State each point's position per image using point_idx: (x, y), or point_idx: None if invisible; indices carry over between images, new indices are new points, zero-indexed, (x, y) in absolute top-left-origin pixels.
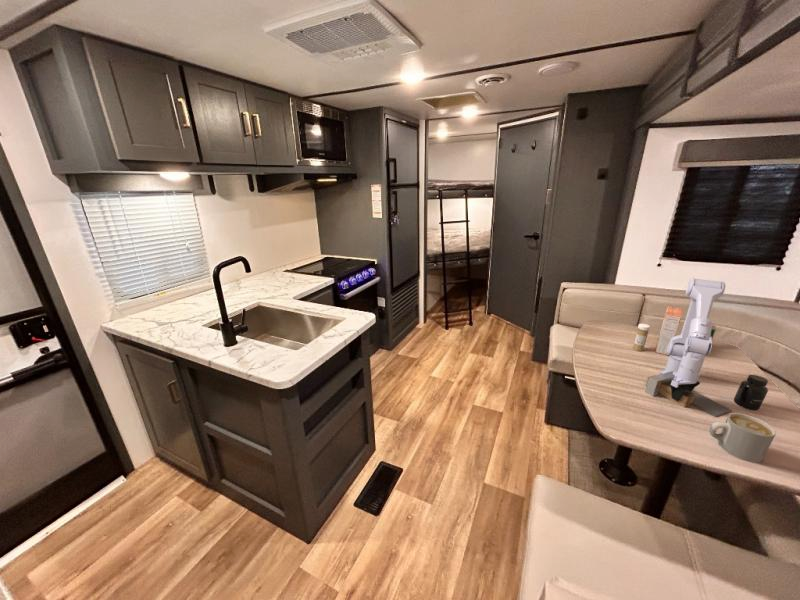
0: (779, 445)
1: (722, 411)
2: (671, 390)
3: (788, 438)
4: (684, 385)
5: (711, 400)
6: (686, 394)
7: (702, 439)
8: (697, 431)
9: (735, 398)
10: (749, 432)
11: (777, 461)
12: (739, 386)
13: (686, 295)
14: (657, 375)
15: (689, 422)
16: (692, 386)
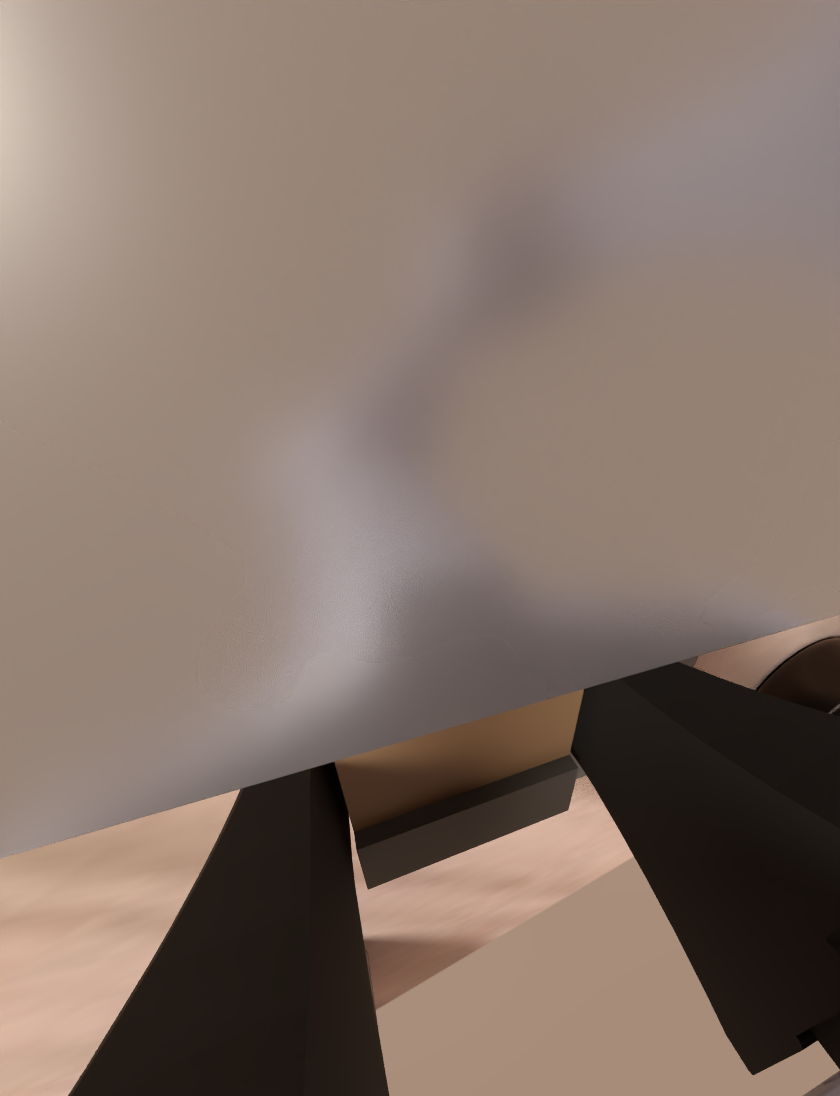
0: (511, 913)
1: (581, 769)
2: (231, 812)
3: (603, 868)
4: (651, 764)
5: (687, 659)
6: (421, 860)
7: (70, 1011)
8: (116, 957)
9: (823, 690)
10: None
11: (374, 992)
12: None
13: None
14: None
15: (150, 889)
16: (671, 906)
